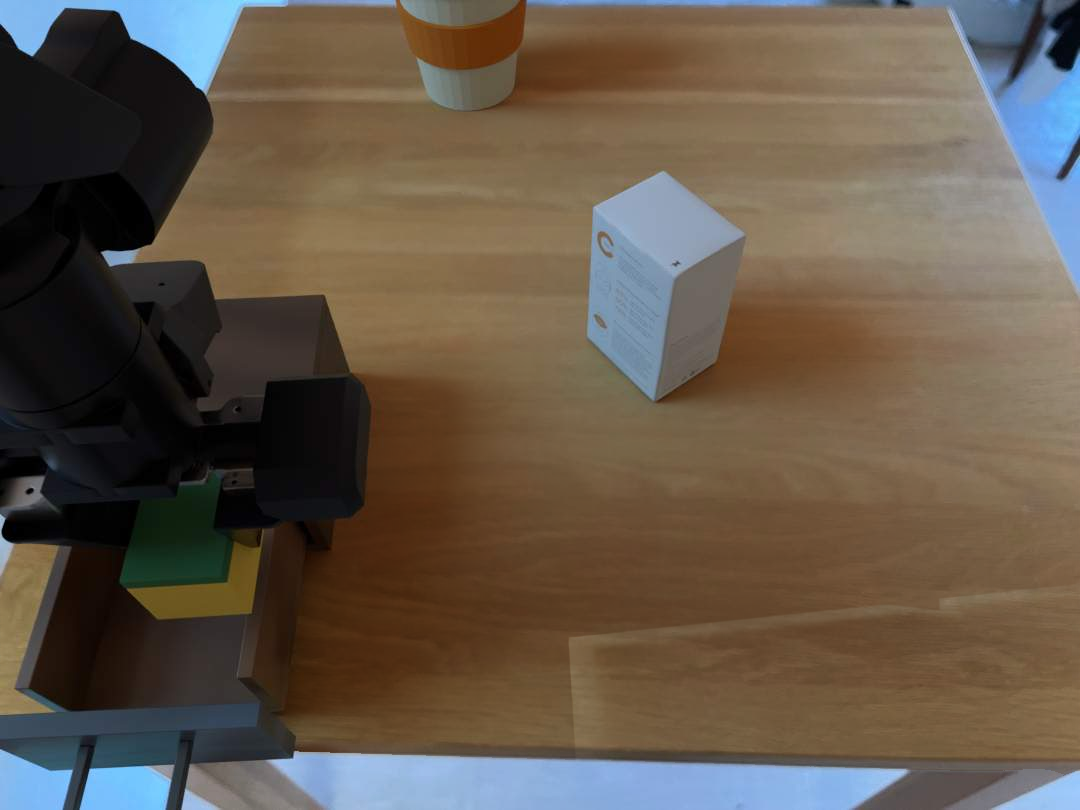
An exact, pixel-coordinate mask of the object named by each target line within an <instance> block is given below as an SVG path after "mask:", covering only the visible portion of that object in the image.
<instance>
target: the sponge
mask: <svg viewBox="0 0 1080 810" xmlns="http://www.w3.org/2000/svg"><path fill="white" fill-rule="evenodd" d="M220 485H221V479H217V477H216V476H215V474H214V473H213V466H212V473H211V479H210V481H209V482H208V483H207V484H204V485H192V486H179V488H178V492H177V497H176V498H159V499H142V500H140V502H139V506H138V510H137V514H136V518H135V522H134V526H133V530H132V534H131V538H130V542H129V546H128V550H127V554H126V557H125V561H124V565H123V569H122V573H121V577H120V583H121V584H122V585H123V586H124V587H125V588H126V589H127V590H128V591H129V592H130V593H131V594H132V595H133V596H134V597H135V598H136V599H137V600H138V601H139V602H140V603H141V604H142V605H143V606H144V607H145V608H147V609H148V610H149V611H150V612H151V613H152V614H153V615H154V616H155V617H156V618H157V619H175V618H190V617H206V616H221V615H237V614H251V613H252V607H253V600H254V593H255V587H256V580H257V573H258V566H259V560H260V553H261V546H262V539H263V533H264V529H263V530H262V537H261V544H260V547H259V548H251V547H248V546H244V545H242V544H240V543H238V542H236V541H234V540H232V539H230V538H228V537H226V536H223V535H221V534H219V533H217V532H215V531H214V530H213V523H214V517H215V512H216V506H217V501H218V495H219V490H220Z"/></svg>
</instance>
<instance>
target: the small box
mask: <svg viewBox="0 0 1080 810" xmlns="http://www.w3.org/2000/svg"><path fill="white" fill-rule="evenodd" d="M591 224H592V226H591V247H590V248H591V249H590V264H589V265H590V269H589V288H588V308H587V309H588V311H587V328H586V329H587V331H586V338H587V339H588V340H589V341H590V342H592V343H593V344H594V346H596V348H598V350H600V351H601V352H602V354H604V355H605V356H606V357H607V358H608V359H609V360H610V361H611V362H612V363H613V364H614V365H615V366H616V367H617V368H618V369H619V370H620V371H621V372H622V373H623V374H624V375H625V376H626V377H627V378H628V379H629V380H630V381H631V382H632V383H634V385H636V386H637V387H638V389H640V390H641V391H642V392H643V394H645V395H646V396H647V397H648V398H649V399H650V400H651V401H652V402H654V403H655V402H658V401H659V400H661V399H662V398H663V397H665V396H666V395H668V394H670V393H671V392H673V391H674V390H676V389H677V388H679V387H681V386H682V385H683V384H685V383H687V382H688V381H690V380H691V379H692V378H694V377H696V376H697V375H699V374H700V373H702V372H703V371H704V370H706V369H707V368H709V367H710V366H712V365H714V364H715V363H717V360H718V356H719V352H720V348H721V344H722V340H723V335H724V332H725V327H726V324H727V319H728V316H729V311H730V306H731V302H732V298H733V295H734V294H733V293H734V290H735V286H736V280H737V276H738V273H739V269H740V264H741V260H742V256H743V252H744V249H745V248H744V247H745V243H746V238H747V235H748V234H747V233H746V232H745V231H744V230H742V229H741V228H739V227H738V226H736V224H735V223H733V222H732V221H731V220H729V219H728V218H727V217H725V216H724V215H723V214H721V213H720V212H719V211H717V210H716V209H715V208H714V207H712V206H711V205H709V204H708V203H707V202H706V201H704V200H703V199H701V197H699V196H698V195H696V194H695V193H694V192H693V191H692V190H690V189H689V188H687V187H686V186H685V185H684V184H682V183H681V182H679V181H678V180H677V179H676V178H675V177H673V176H672V175H671V174H670V173H668V172H667V171H666V170H662V171H660V172H657V173H656V174H654V175H652V176H650V177H648V178H647V179H644V180H643V181H641V182H639V183H637V184H635V185H633V186H631V187H629V188H628V189H626V190H624V191H622V192H619V193H618V194H616V195H614V196H612V197H610V198H608V199H606V200H604V201H602V202H601V203H598V204H596V205H594V206H592V223H591Z"/></svg>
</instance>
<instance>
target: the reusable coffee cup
mask: <svg viewBox="0 0 1080 810" xmlns="http://www.w3.org/2000/svg"><path fill="white" fill-rule="evenodd" d="M527 1H528V0H395V4H396V8H397V11H398V14H399V18H400V22H401V25H402V29H403V31H404V35H405V39H406V42H407V46H408V48H409V50H410V51H411V53H412V55H414V56H415V57H416V61H417V65H418V68H419V71H420V74H421V78H422V80H423V86H424V87H425V91H426V94H427V95H428V97H429V99H431V100H432V101H433V102H434V103H436V104H437V105H439V106H441V107H444V108H446V109H450V110H455V111H462V112H468V111H469V112H471V111H473V112H474V111H478V110H485V109H488V108H491V107H494V106H496V105H498V104H500V103H501V102H504V101H505V100H506V99H507V98H508V97H509V96H510V95H511V94H512V93H513V90H514V87H515V83H516V72H517V62H518V61H517V60H518V49H519V48H520V46H521V44H522V42H523V39H524V32H525V23H526V22H525V21H526V14H527V13H526V11H527V3H528V2H527Z"/></svg>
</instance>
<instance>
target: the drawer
mask: <svg viewBox="0 0 1080 810" xmlns="http://www.w3.org/2000/svg"><path fill="white" fill-rule="evenodd" d="M306 543H307V534H306V532H305V531H304V528H303V527H302V525H301V523H300V521H295V522H287V521H284V522H283V523H282V524H281V525H280V526H278V527H276V528H271V529H264V533H263V539H262V546H261V553H260V560H259V566H258V573H257V580H256V587H255V593H254V600H253V607H252V613H251V614H237V615H221V616H206V617H190V618H175V619H157V618H156V617H155V616H154V615H153V614H152V613H151V612H150V611H149V610H148V609H147V608H145V607H144V606H143V605H142V604H141V603H140V602H139V601H138V600H137V599H136V598H135V597H134V596H133V595H132V594H131V593H130V592H129V591H128V590H127V589H126V588H125V587H124V586H123V585H122V584H121V583H120V577H121V573H122V569H123V565H124V561H125V557H126V554H127V551H118V550H107V549H95V548H83V547H70V546H58V547H57V551H56V554H55V557H54V559H53V563H52V567H51V569H50V572H49V576H48V579H47V582H46V585H45V588H44V592H43V595H42V598H41V600H40V605H39V607H38V610H37V614H36V617H35V620H34V624H33V627H32V629H31V632H30V636H29V640H28V643H27V646H26V648H25V652H24V655H23V657H22V658H23V659H22V661H21V664H20V667H19V668H20V669H19V671H18V674H17V677H16V681H15V684H14V687H13V689H14V690H15V691H17V692H19V693H20V694H22V695H24V696H26V697H28V698H30V699H32V700H33V701H34V702H37V703H39V704H40V705H42V706H44V707H46V708H48V709H50V710H51V712H34V713H33V712H32V713H15V714H14V713H13V714H0V750H1V751H4V752H5V753H8V754H10V755H13V756H15V757H17V758H20V759H22V760H23V761H26V762H28V763H31V764H32V765H36V766H38V767H40V768H42V769H45V770H46V771H50V772H55V771H72V772H71V775H70V778H69V782H68V787H67V790H66V794H65V798H64V802H63V806H62V809H61V810H81V806H82V803H83V798H84V794H85V790H86V786H87V782H88V778H89V774H90V770H95V769H96V770H97V769H98V770H99V769H116V768H135V767H155V766H173V769H172V774H171V778H170V783H169V789H168V794H167V798H166V799H167V800H166V805H165V810H182V809H183V804H184V799H185V794H186V793H185V792H186V787H187V782H188V777H189V772H190V765H191V764H192V765H194V764H195V765H197V764H214V763H232V762H233V763H234V762H252V761H253V762H255V761H274V760H293V759H294V755H295V748H296V740H297V736H296V735H295V734H294V733H293V732H292V731H291V730H290V729H289V728H288V727H287V726H286V725H285V724H284V723H283V722H282V721H281V720H280V719H279V718H277V716H275V714H274V713H275V712H285V711H286V706H287V698H288V691H289V684H290V683H289V682H290V675H291V668H292V659H293V652H294V645H295V635H296V629H297V619H298V613H299V606H300V605H299V604H300V598H301V589H302V582H303V581H302V580H303V575H304V567H305V558H306V552H307V551H306ZM52 711H53V712H52ZM273 712H274V713H273Z"/></svg>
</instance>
